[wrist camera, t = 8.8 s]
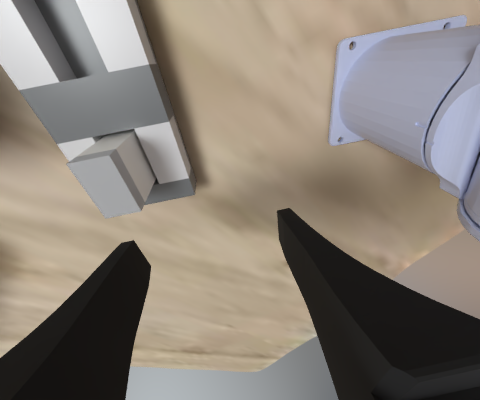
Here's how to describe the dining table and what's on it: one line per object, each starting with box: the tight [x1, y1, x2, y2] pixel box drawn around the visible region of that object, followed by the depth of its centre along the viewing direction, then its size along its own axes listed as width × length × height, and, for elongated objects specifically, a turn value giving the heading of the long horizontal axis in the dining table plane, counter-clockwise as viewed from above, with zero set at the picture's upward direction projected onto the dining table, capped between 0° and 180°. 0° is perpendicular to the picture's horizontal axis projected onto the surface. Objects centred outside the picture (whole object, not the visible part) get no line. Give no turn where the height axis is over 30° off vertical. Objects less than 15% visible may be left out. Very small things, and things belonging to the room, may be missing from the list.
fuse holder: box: [0, 0, 196, 205], centre depth 14 cm, size 16×8×2 cm, turn 9°
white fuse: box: [67, 129, 157, 218], centre depth 15 cm, size 4×2×6 cm, turn 9°
